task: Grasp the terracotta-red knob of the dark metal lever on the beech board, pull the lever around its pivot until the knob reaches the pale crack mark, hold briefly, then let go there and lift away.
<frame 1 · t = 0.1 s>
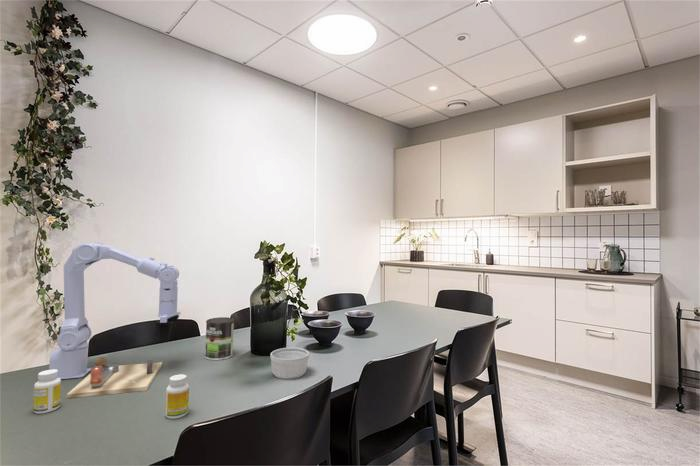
hand: (167, 338, 124), 10 cm above the table, tool pointing down, fingers open, 7 cm apart
supplement bottle: (46, 410, 92), on the table
board: (120, 380, 112), on the table
supplement bottle 2: (176, 415, 91), on the table
ramekin: (289, 374, 120), on the table
lever: (104, 369, 110), point 4 cm above the table, hinge at 0.0°
coffee can: (219, 356, 137), on the table
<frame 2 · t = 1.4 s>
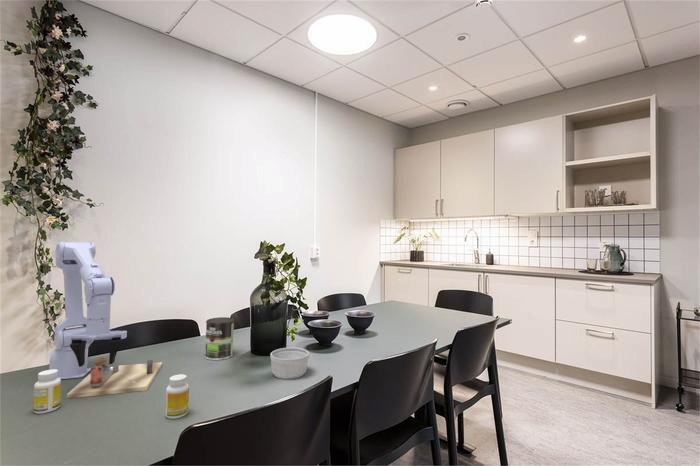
hand: (96, 364, 103), 8 cm above the table, tool pointing down, fingers open, 7 cm apart
nothing on the table moved.
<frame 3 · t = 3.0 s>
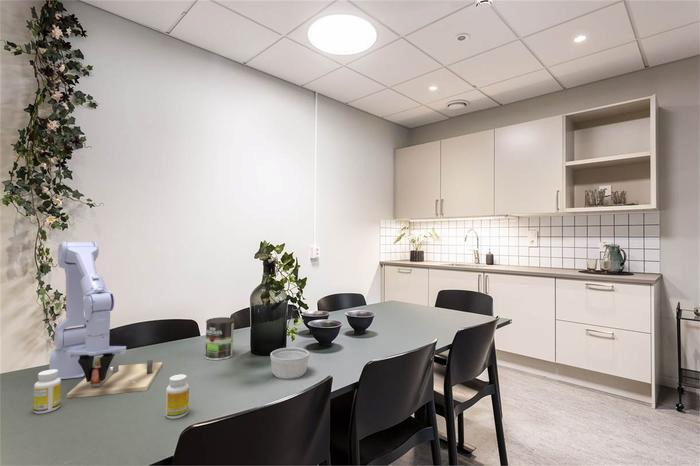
hand: (96, 380, 103), 3 cm above the table, tool pointing down, fingers closed on lever, 3 cm apart
lever: (104, 369, 110), point 4 cm above the table, hinge at 0.0°, touching gripper
everything else where it was.
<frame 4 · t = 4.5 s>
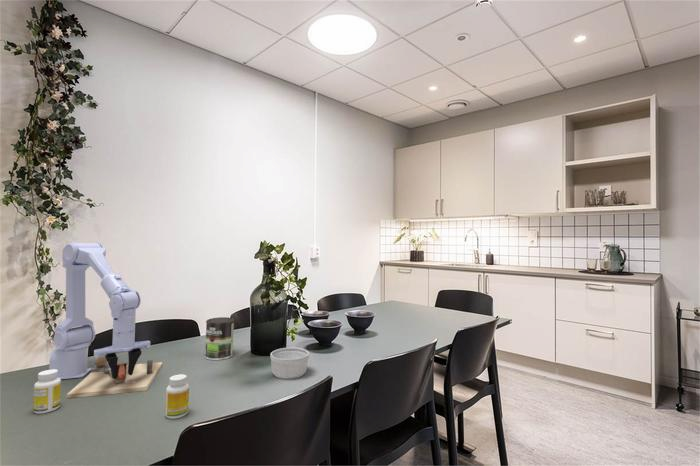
hand: (122, 376, 107), 3 cm above the table, tool pointing down, fingers open, 4 cm apart
lever: (115, 367, 111), point 4 cm above the table, hinge at 27.0°, touching gripper
everything else where it was.
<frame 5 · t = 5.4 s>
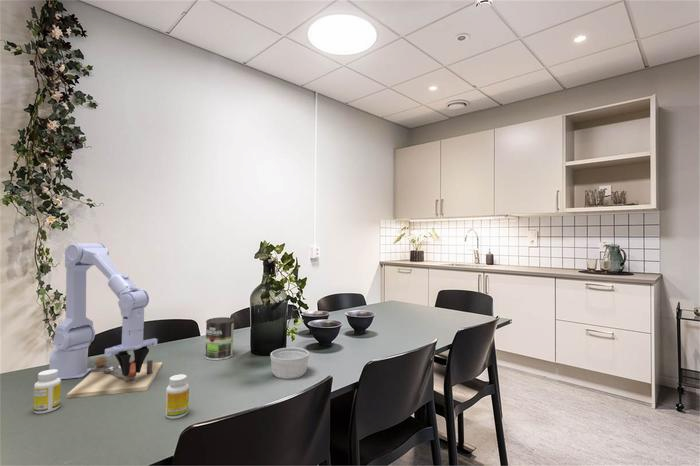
hand: (131, 373, 109), 3 cm above the table, tool pointing down, fingers open, 3 cm apart
lever: (120, 366, 112), point 4 cm above the table, hinge at 39.5°, touching gripper
everything else where it was.
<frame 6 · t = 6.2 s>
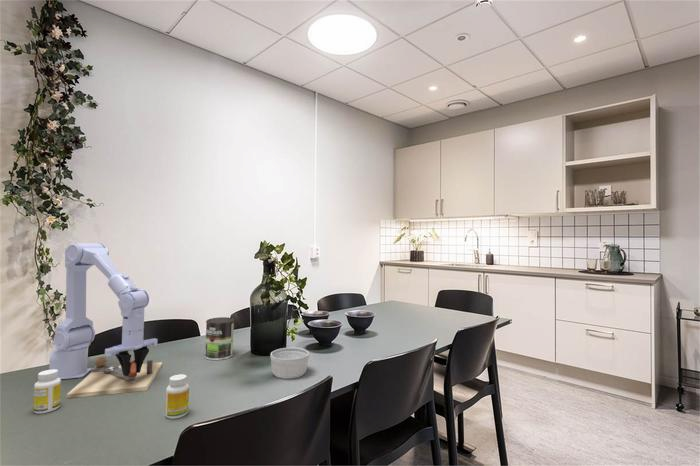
hand: (131, 373, 109), 3 cm above the table, tool pointing down, fingers closed on lever, 3 cm apart
lever: (120, 366, 112), point 4 cm above the table, hinge at 40.3°, touching gripper
everything else where it was.
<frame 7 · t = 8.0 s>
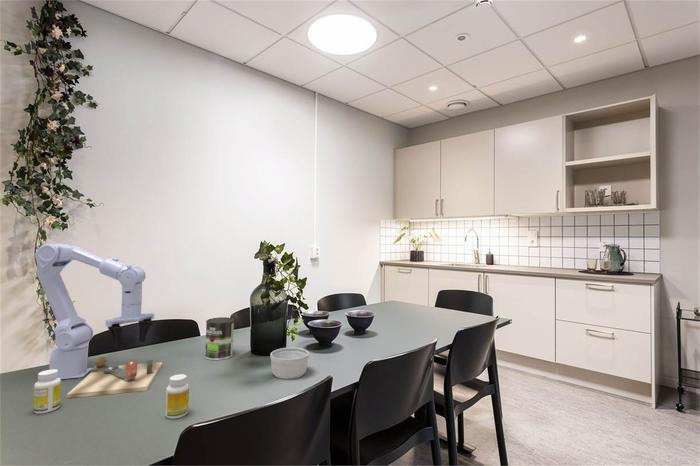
hand: (130, 344, 118), 10 cm above the table, tool pointing down, fingers open, 7 cm apart
lever: (120, 366, 112), point 4 cm above the table, hinge at 40.2°
everything else where it was.
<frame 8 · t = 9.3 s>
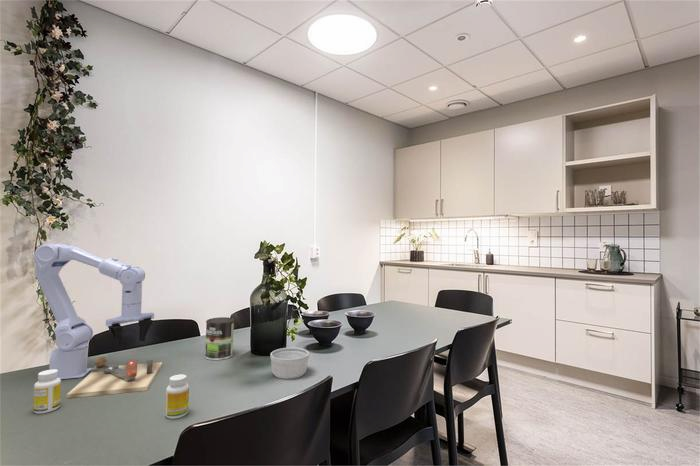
hand: (130, 343, 118), 10 cm above the table, tool pointing down, fingers open, 7 cm apart
nothing on the table moved.
at the end: lever at +40° (first picture: +0°); the gripper is holding nothing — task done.
